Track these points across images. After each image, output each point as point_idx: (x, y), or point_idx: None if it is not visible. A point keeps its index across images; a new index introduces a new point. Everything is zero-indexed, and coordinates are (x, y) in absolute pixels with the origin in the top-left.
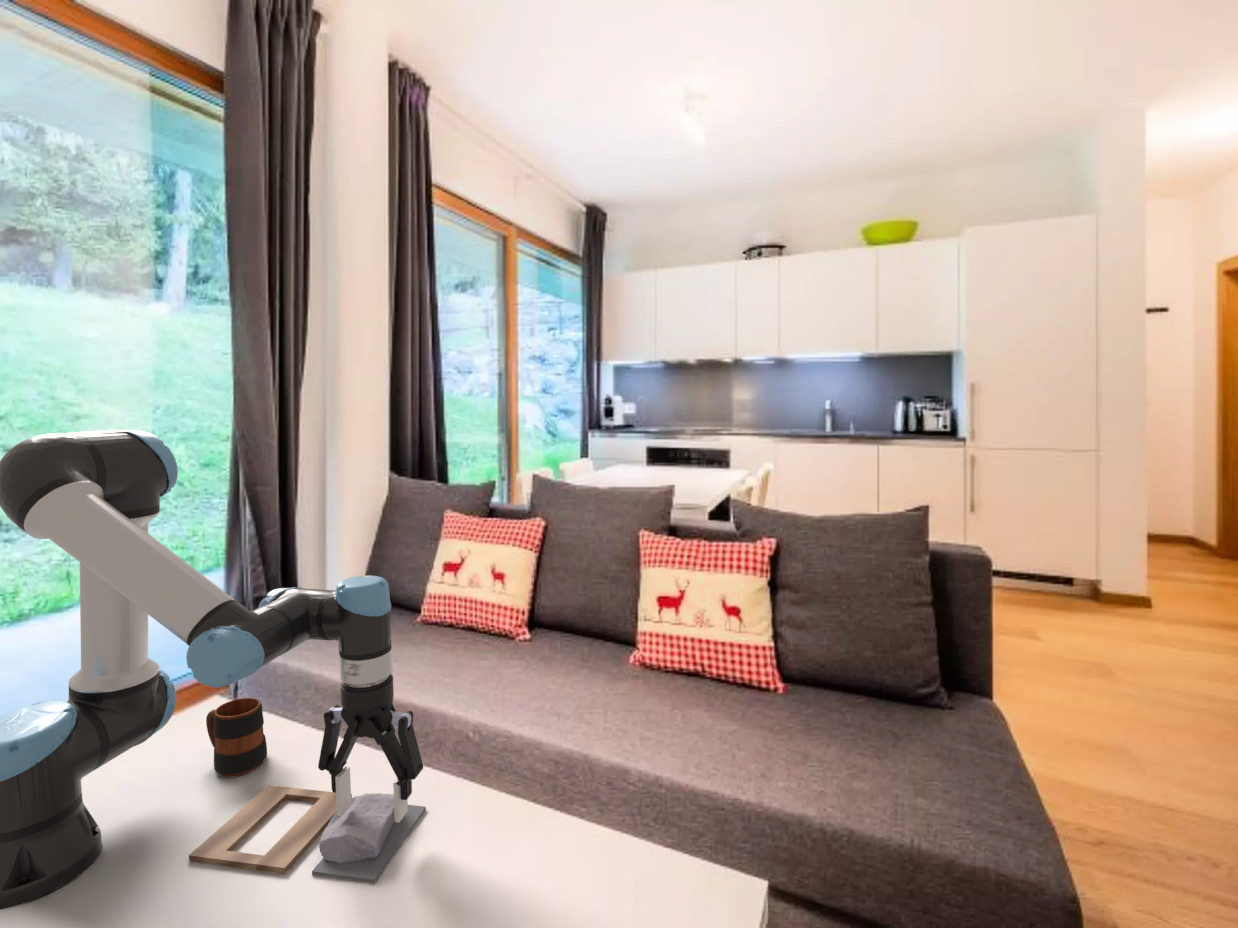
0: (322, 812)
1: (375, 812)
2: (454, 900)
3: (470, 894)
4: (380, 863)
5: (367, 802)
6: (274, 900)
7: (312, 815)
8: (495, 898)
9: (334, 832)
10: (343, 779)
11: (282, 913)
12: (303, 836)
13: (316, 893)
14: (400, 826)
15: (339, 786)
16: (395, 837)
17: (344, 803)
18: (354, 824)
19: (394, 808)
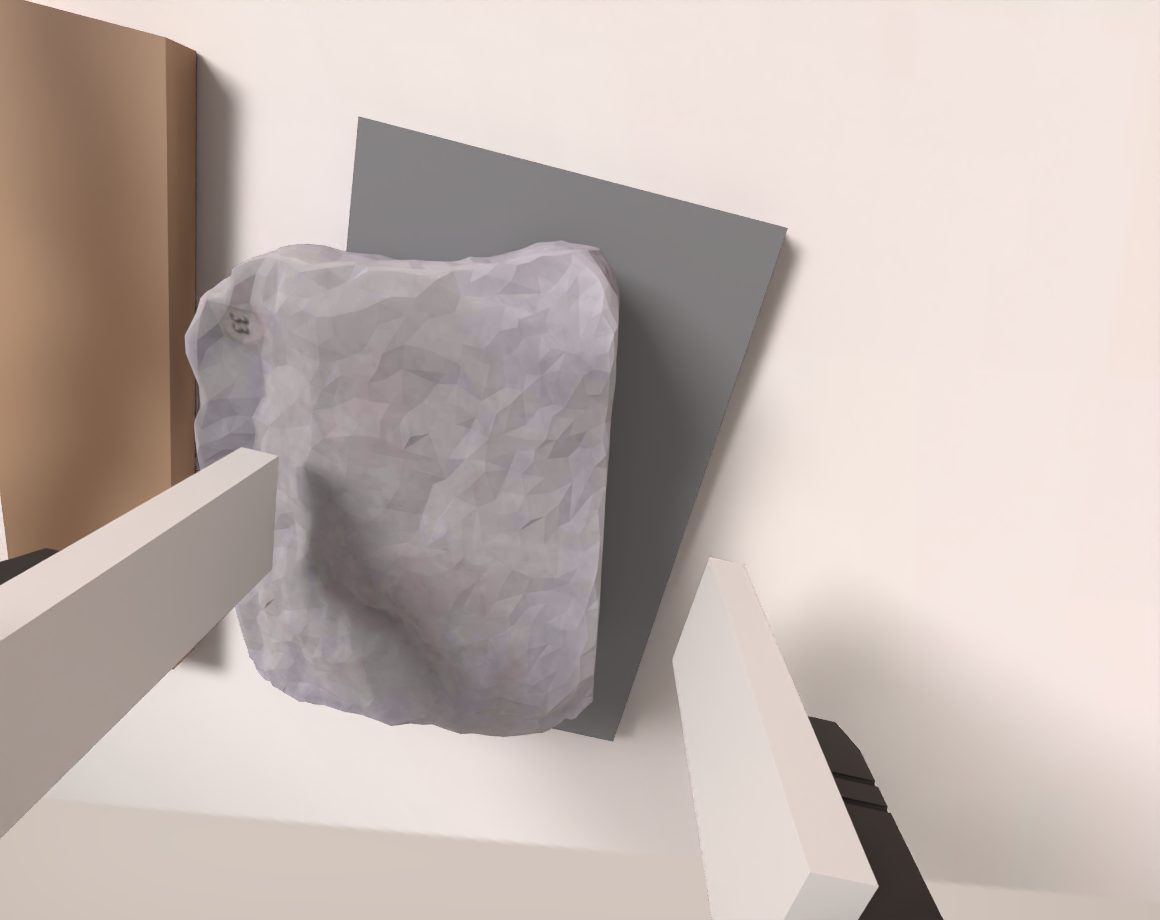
0: (82, 260)
1: (496, 523)
2: (952, 823)
3: (1019, 807)
4: (610, 663)
5: (385, 393)
6: (244, 758)
7: (36, 289)
8: (1118, 831)
9: (304, 651)
10: (40, 736)
11: (313, 808)
12: (115, 475)
13: (390, 746)
14: (648, 417)
15: (76, 758)
16: (640, 504)
17: (232, 568)
18: (399, 618)
19: (685, 739)
